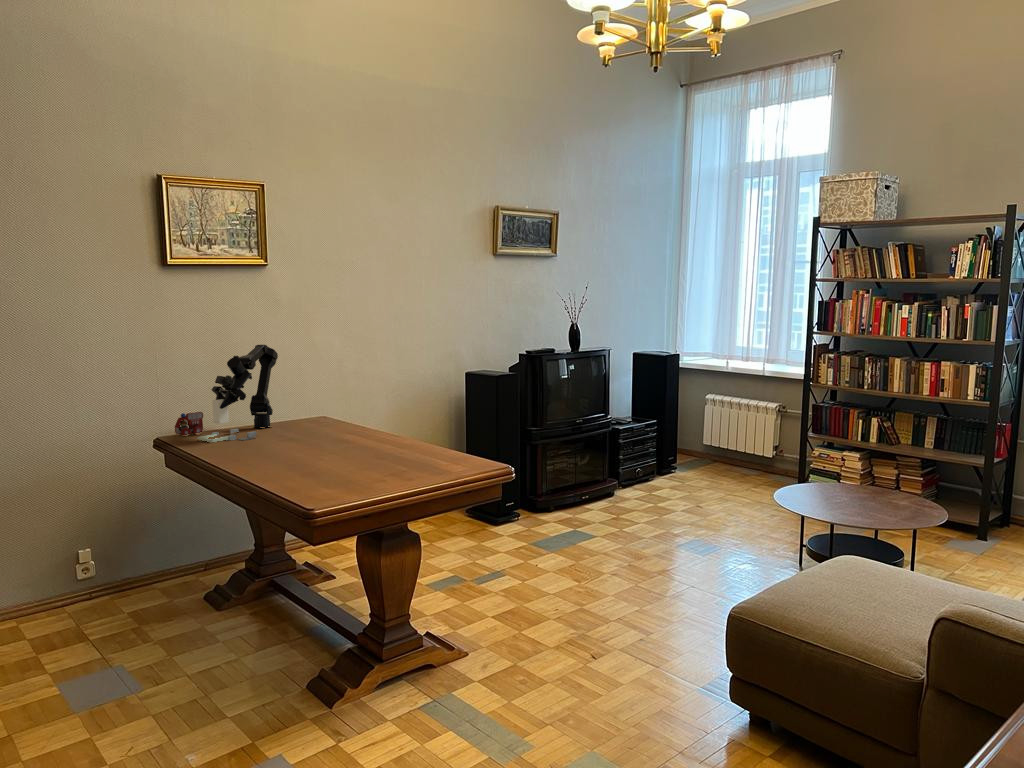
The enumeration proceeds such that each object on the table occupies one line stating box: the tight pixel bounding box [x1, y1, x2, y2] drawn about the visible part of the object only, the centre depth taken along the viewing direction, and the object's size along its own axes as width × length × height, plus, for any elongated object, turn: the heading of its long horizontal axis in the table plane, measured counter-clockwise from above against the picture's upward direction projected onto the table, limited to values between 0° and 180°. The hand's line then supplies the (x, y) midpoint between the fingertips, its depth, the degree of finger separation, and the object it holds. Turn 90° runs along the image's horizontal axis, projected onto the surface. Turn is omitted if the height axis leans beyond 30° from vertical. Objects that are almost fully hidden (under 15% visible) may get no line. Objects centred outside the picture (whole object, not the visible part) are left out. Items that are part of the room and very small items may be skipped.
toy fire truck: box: [174, 411, 204, 436], centre depth 342 cm, size 7×12×10 cm, turn 129°
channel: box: [210, 428, 257, 442], centre depth 335 cm, size 13×25×2 cm, turn 52°
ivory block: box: [211, 399, 230, 424], centre depth 329 cm, size 5×5×10 cm
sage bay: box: [196, 434, 230, 444], centre depth 328 cm, size 9×11×2 cm
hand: (217, 407), depth 328 cm, fingers closed on ivory block, 5 cm apart
